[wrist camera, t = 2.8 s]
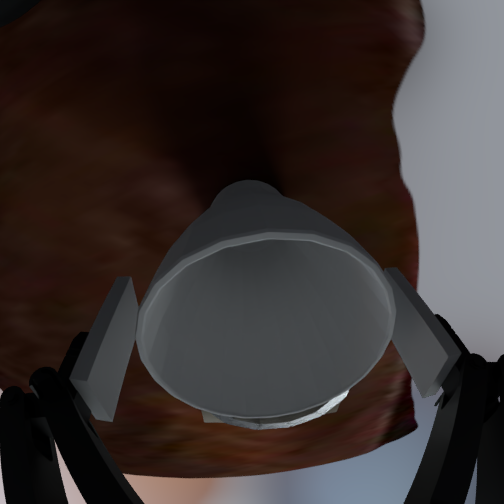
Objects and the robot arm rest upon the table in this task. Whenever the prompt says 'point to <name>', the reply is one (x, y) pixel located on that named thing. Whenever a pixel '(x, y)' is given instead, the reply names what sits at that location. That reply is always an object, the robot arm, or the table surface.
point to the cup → (263, 308)
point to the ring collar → (282, 417)
